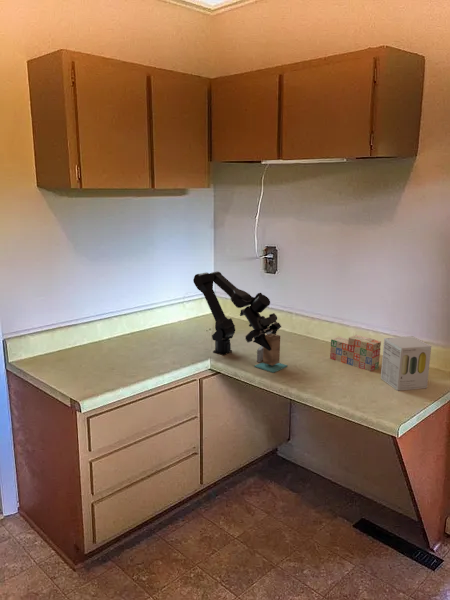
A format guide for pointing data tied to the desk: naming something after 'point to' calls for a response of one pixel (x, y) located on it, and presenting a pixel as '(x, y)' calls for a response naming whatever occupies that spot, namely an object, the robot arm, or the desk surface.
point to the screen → (260, 354)
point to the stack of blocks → (356, 351)
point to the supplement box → (405, 363)
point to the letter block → (272, 349)
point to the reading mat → (271, 367)
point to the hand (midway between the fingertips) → (274, 348)
